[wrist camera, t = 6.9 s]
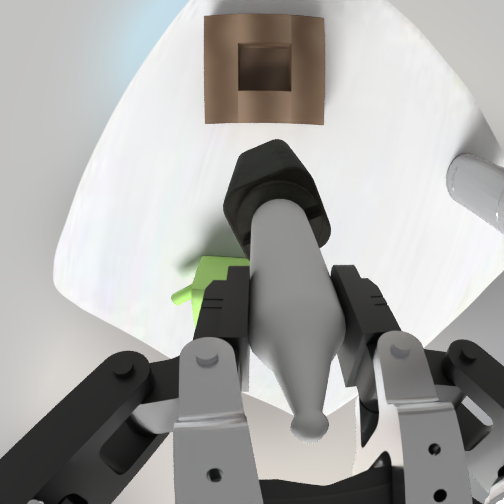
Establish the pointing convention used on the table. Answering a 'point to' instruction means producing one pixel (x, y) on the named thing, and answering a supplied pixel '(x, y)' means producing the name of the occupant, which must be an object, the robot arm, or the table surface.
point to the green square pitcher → (206, 280)
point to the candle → (287, 278)
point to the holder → (264, 69)
